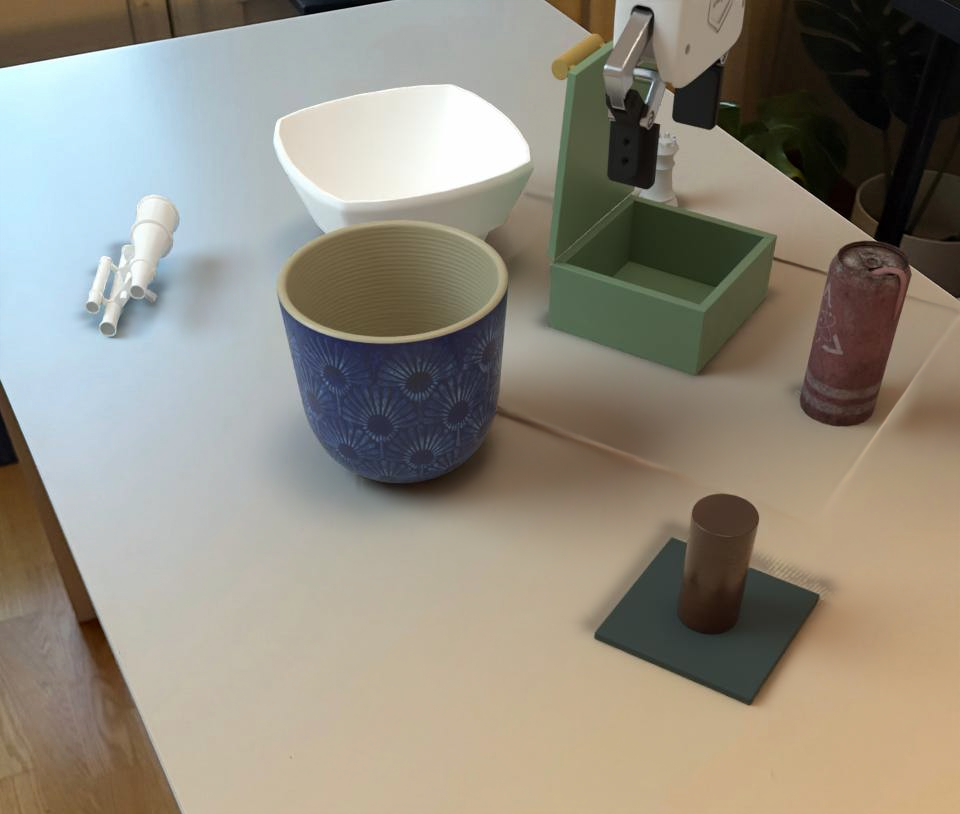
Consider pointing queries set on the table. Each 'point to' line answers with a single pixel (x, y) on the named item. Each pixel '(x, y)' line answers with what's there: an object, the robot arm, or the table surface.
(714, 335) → the box
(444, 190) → the bowl
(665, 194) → the rook chess piece
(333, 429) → the planter
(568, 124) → the lid
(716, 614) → the brown cylinder
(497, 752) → the table surface
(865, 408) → the can
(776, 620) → the mat
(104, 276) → the white plastic piece
